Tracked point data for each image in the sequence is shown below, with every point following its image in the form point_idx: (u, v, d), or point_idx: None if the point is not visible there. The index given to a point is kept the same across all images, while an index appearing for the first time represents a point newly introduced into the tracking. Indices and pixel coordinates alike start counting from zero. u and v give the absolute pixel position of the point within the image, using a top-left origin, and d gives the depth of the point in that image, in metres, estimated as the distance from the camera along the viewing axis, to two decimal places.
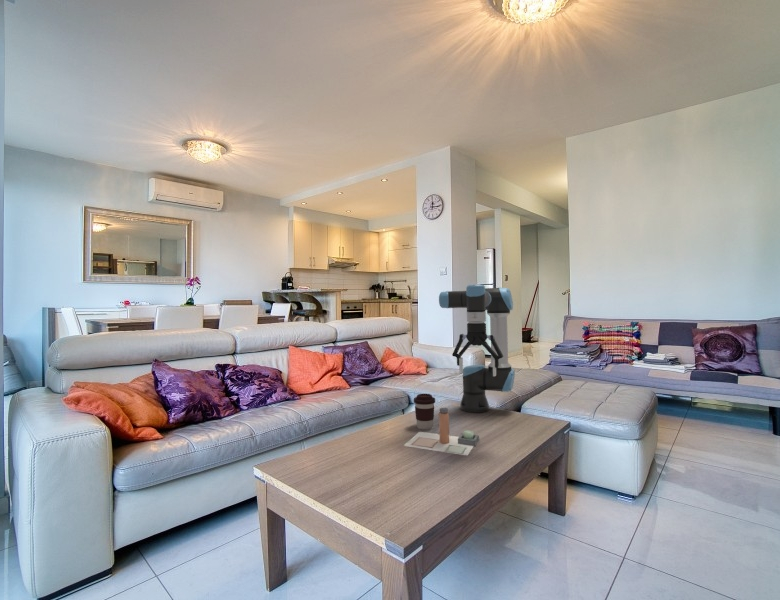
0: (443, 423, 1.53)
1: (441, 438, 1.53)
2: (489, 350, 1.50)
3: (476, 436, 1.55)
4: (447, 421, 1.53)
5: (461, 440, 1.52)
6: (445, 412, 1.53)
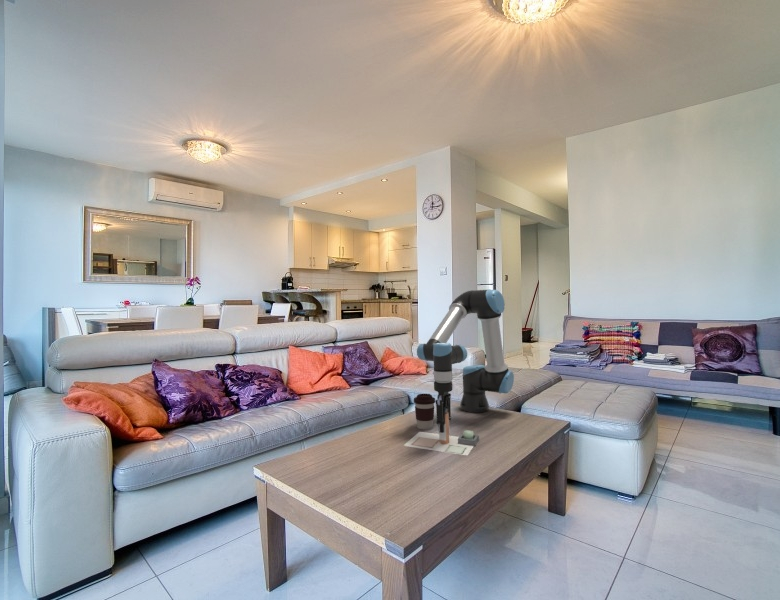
0: None
1: None
2: None
3: (476, 436, 1.55)
4: (447, 421, 1.53)
5: (461, 440, 1.52)
6: (445, 412, 1.53)
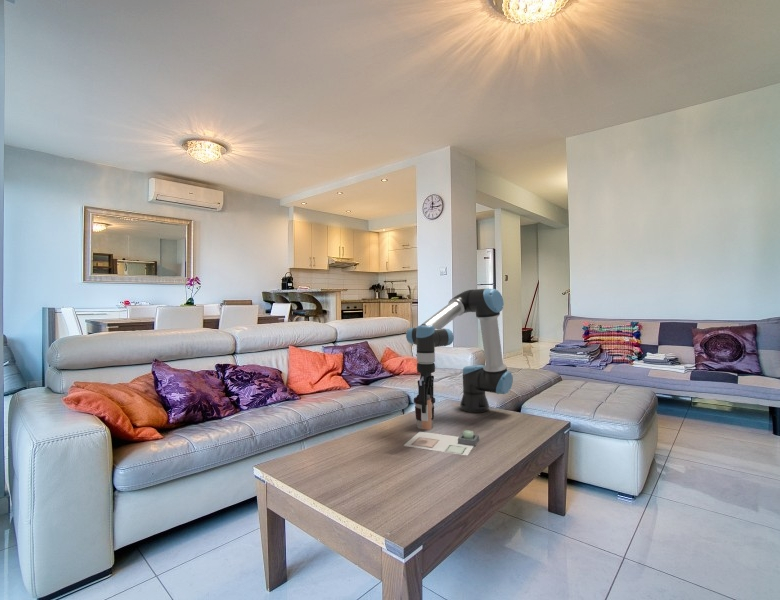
0: None
1: (423, 424, 1.55)
2: None
3: (476, 436, 1.55)
4: (429, 407, 1.55)
5: (461, 440, 1.52)
6: (427, 398, 1.55)
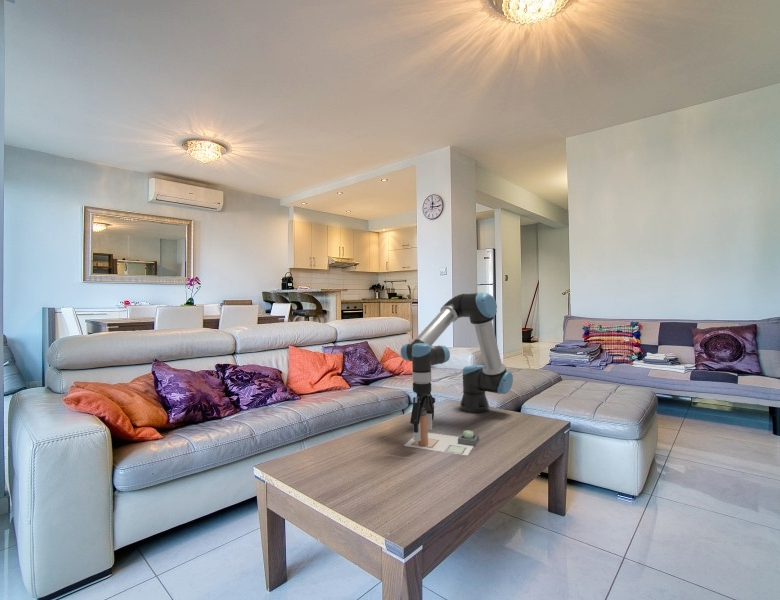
0: (421, 425, 1.51)
1: None
2: None
3: (476, 436, 1.55)
4: (426, 423, 1.51)
5: (461, 440, 1.52)
6: (424, 414, 1.51)
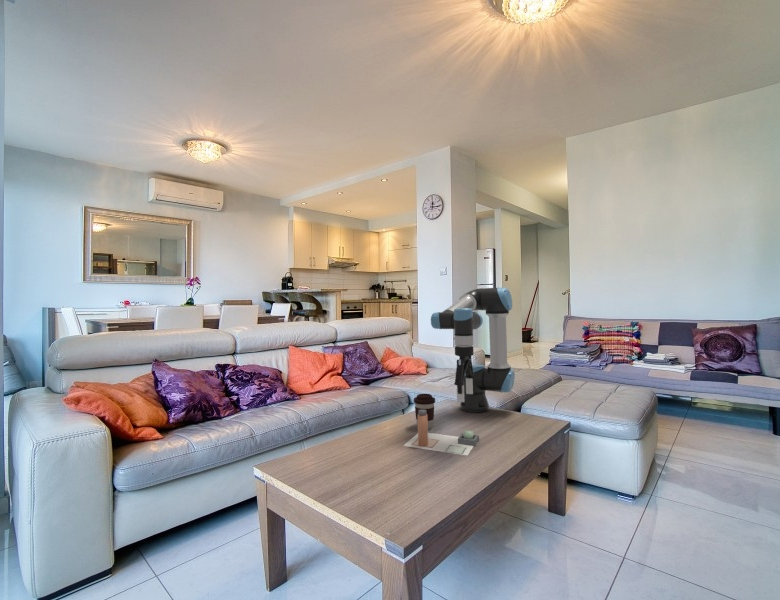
0: (421, 425, 1.51)
1: (419, 440, 1.51)
2: None
3: (476, 436, 1.55)
4: (426, 423, 1.51)
5: (461, 440, 1.52)
6: (424, 414, 1.51)
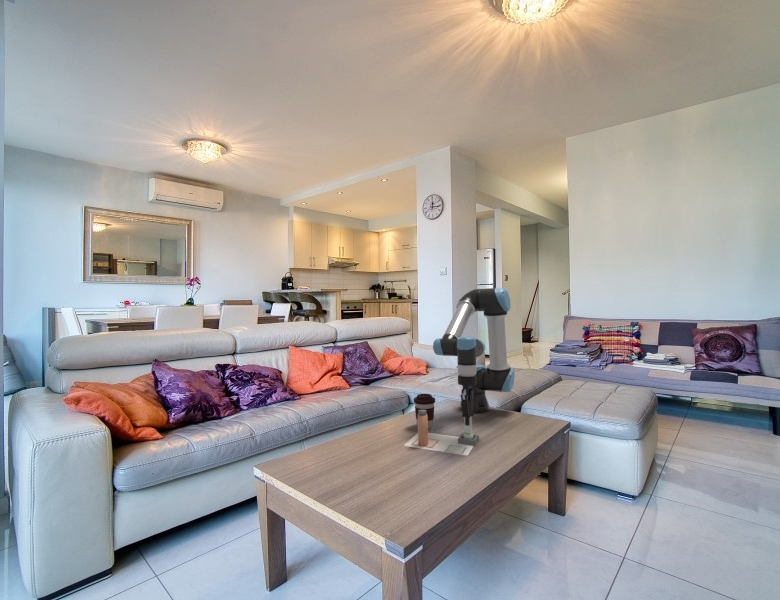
0: (421, 425, 1.51)
1: (419, 440, 1.51)
2: None
3: (476, 436, 1.55)
4: (426, 423, 1.51)
5: (461, 440, 1.52)
6: (424, 414, 1.51)
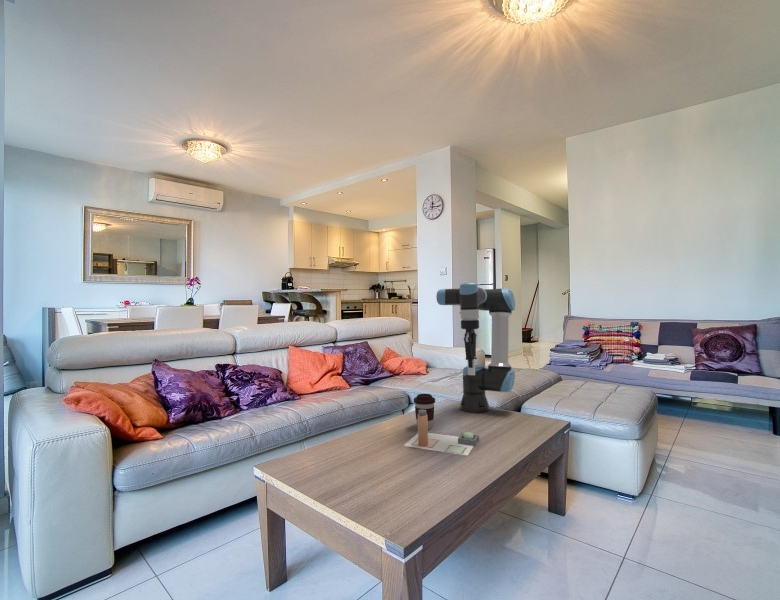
0: (421, 425, 1.51)
1: (419, 440, 1.51)
2: None
3: (476, 436, 1.55)
4: (426, 423, 1.51)
5: (461, 440, 1.52)
6: (424, 414, 1.51)
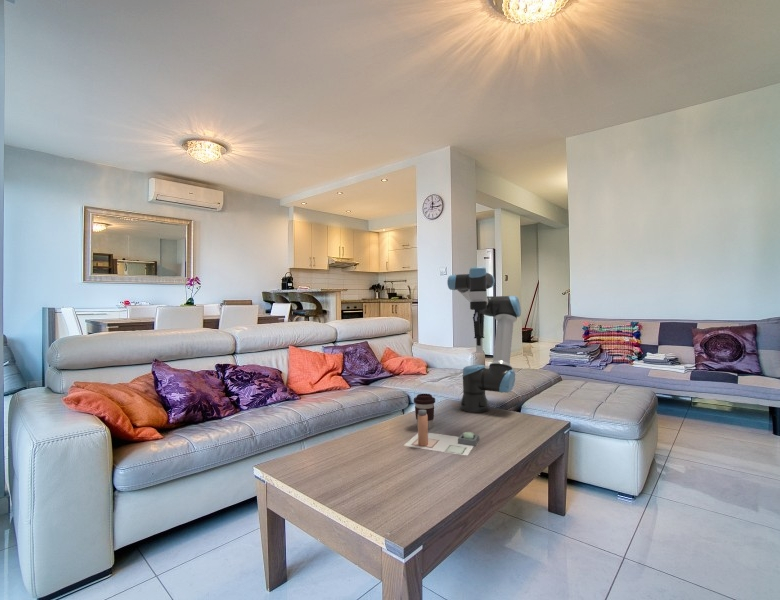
0: (421, 425, 1.51)
1: (419, 440, 1.51)
2: None
3: (476, 436, 1.55)
4: (426, 423, 1.51)
5: (461, 440, 1.52)
6: (424, 414, 1.51)
